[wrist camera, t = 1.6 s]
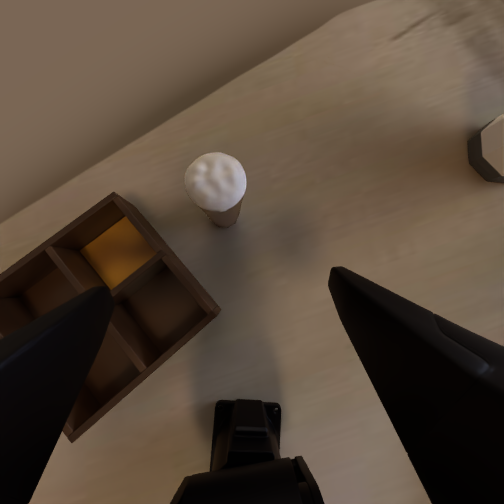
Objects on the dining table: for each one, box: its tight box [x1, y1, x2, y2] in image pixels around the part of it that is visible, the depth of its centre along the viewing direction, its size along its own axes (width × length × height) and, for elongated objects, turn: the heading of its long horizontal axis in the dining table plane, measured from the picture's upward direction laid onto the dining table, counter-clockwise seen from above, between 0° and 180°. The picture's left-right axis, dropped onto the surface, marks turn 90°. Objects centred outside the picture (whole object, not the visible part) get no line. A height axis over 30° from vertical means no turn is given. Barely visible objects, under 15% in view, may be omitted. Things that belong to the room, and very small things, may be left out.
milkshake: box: [185, 152, 247, 228], centre depth 19 cm, size 4×5×10 cm
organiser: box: [0, 192, 221, 443], centre depth 20 cm, size 15×15×4 cm
